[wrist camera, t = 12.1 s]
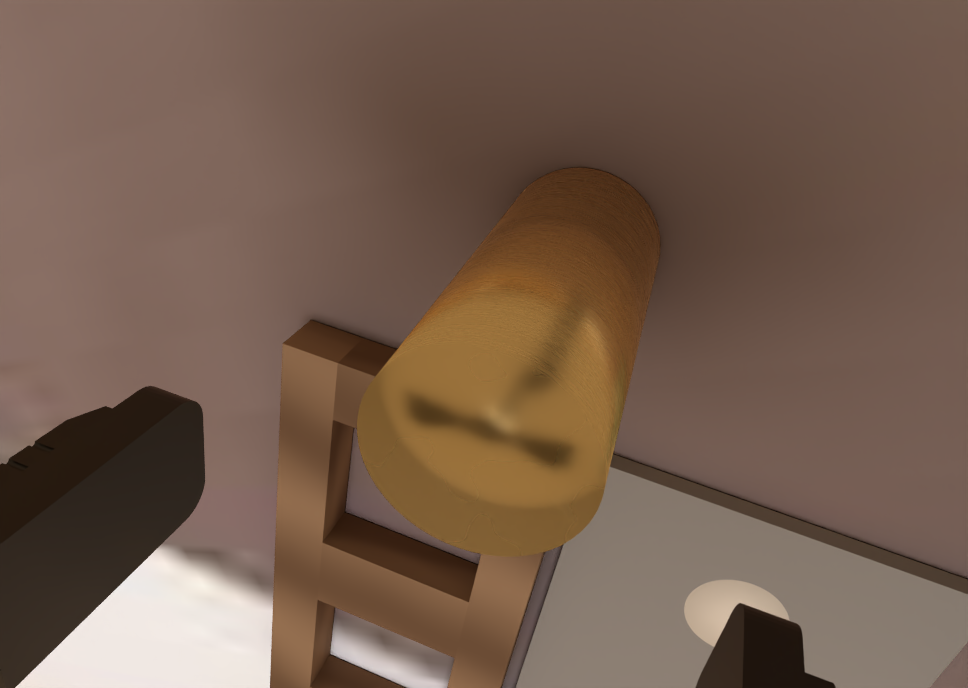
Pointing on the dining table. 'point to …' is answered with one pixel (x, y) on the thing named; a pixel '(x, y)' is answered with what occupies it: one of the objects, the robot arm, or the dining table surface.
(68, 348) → the dining table surface
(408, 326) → the dining table surface
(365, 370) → the walnut frame
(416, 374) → the brass pin
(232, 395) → the dining table surface
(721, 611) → the grey mat
